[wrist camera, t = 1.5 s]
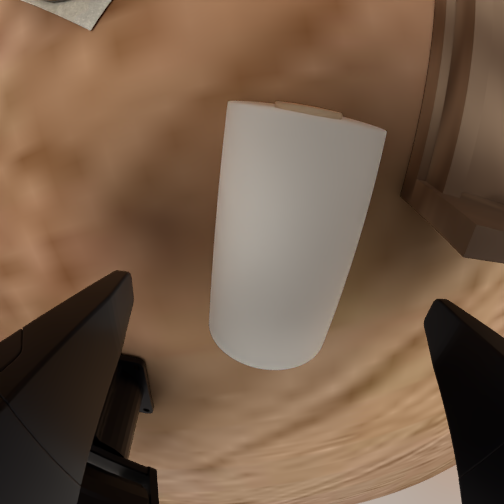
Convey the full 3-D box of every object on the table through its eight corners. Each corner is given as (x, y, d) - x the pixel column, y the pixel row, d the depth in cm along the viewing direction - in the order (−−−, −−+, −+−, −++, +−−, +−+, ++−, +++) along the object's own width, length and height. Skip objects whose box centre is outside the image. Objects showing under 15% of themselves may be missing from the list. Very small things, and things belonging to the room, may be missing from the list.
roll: (313, 297, 16) (333, 374, 12) (213, 288, 16) (203, 368, 12) (357, 114, 12) (417, 136, 7) (232, 93, 11) (222, 98, 7)
